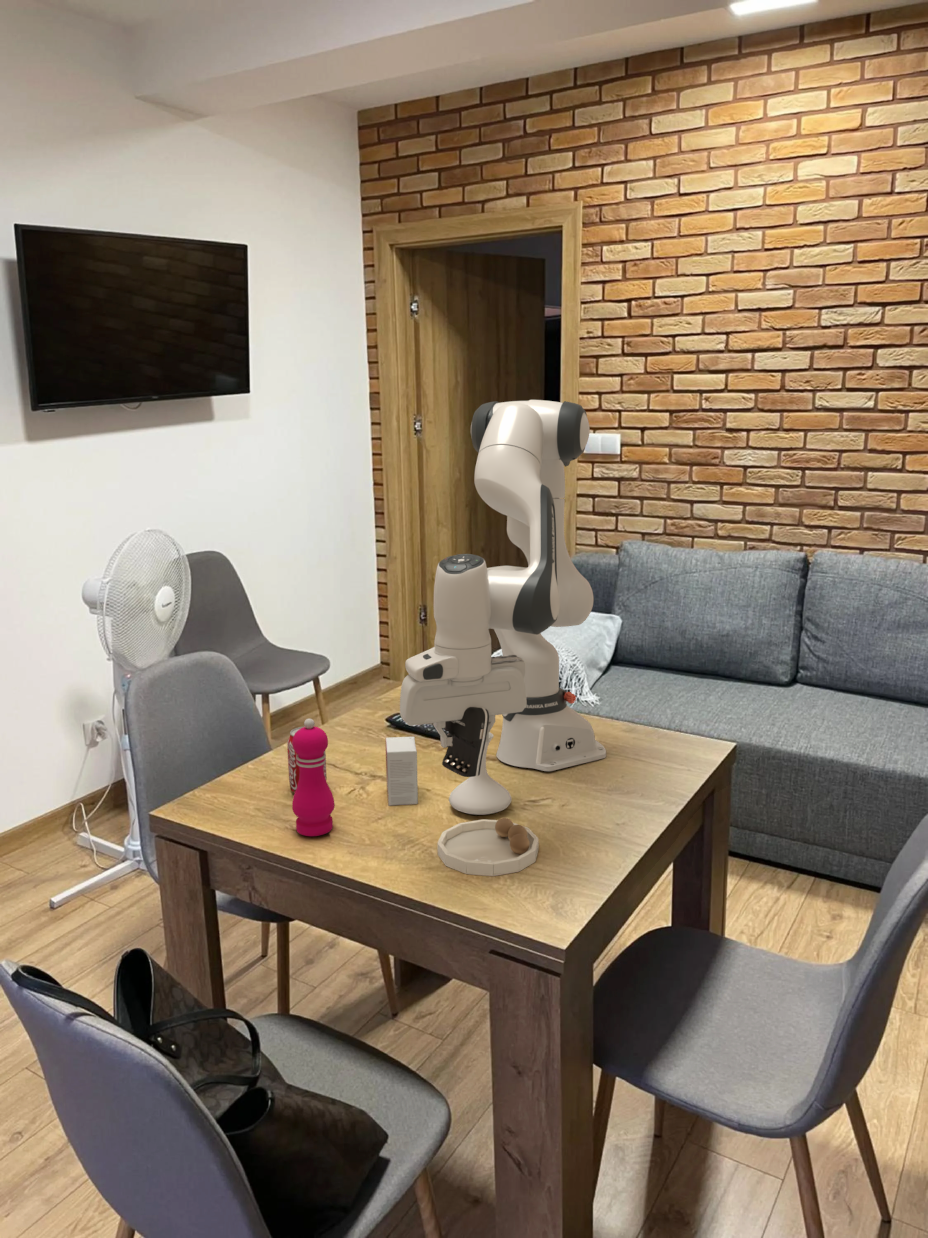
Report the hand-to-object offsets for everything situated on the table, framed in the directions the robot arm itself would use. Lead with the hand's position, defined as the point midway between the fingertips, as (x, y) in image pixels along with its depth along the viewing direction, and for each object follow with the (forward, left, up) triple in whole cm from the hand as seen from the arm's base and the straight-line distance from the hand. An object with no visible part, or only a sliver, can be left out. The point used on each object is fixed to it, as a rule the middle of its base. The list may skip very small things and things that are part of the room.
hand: (464, 743), depth 153 cm
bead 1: (-8, -2, -18) cm, 20 cm away
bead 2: (-9, +1, -18) cm, 20 cm away
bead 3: (-8, +4, -18) cm, 20 cm away
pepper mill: (+22, -18, -19) cm, 34 cm away
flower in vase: (-8, -17, -19) cm, 27 cm away
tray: (-3, +1, -19) cm, 19 cm away
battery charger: (+1, 0, -5) cm, 5 cm away
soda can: (+20, -35, -19) cm, 44 cm away
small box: (+4, -26, -19) cm, 32 cm away
